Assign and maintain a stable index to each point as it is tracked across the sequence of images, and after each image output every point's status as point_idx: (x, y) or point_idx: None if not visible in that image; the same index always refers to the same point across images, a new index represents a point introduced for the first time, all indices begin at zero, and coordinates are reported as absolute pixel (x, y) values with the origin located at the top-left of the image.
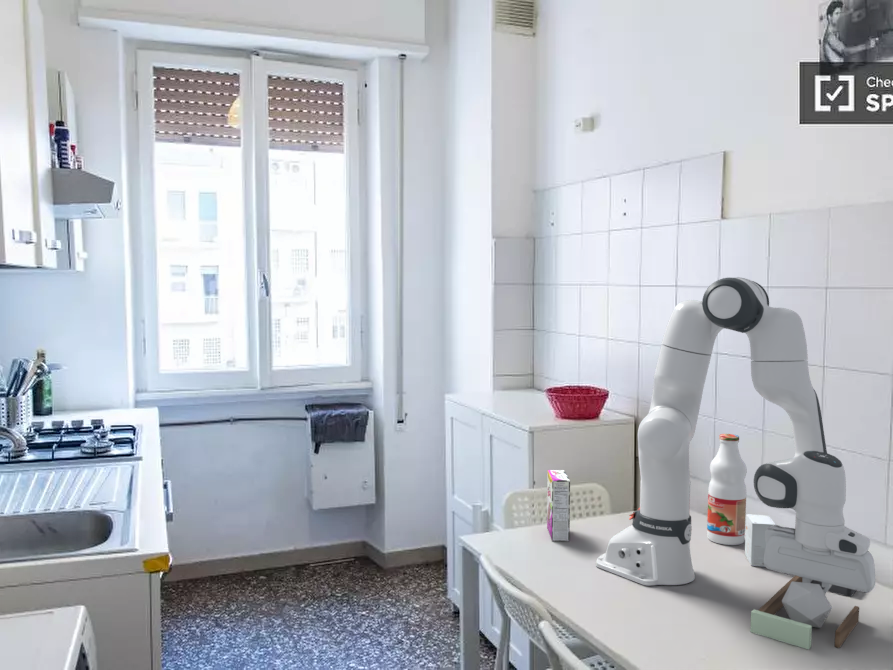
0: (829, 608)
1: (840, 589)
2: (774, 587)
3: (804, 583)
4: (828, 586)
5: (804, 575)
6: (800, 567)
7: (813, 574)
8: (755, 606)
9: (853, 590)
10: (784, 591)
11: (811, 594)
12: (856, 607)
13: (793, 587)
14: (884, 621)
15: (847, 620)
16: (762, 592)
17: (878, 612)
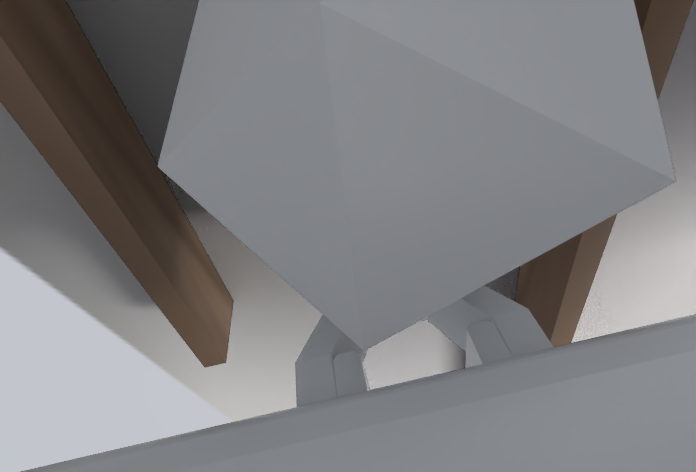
0: (164, 139)
1: None
2: (591, 308)
3: (508, 250)
4: (302, 380)
5: (557, 372)
6: (682, 457)
7: (472, 436)
8: (683, 46)
9: None
10: (578, 243)
11: (297, 14)
12: (206, 354)
13: (616, 78)
14: (167, 369)
15: (58, 161)
16: (638, 239)
17: (233, 400)
